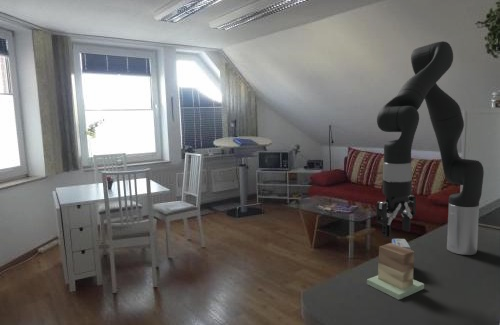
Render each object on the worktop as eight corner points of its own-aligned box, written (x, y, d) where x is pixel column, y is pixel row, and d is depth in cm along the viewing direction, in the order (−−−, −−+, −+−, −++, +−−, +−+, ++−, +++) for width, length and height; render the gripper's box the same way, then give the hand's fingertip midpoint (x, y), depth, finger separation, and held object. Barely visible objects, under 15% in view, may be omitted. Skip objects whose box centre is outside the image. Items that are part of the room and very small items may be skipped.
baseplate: (391, 274, 111) (391, 270, 110) (423, 288, 101) (424, 283, 101) (366, 284, 105) (366, 279, 105) (399, 299, 96) (399, 294, 95)
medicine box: (410, 273, 111) (411, 247, 110) (395, 273, 112) (396, 246, 111) (405, 263, 119) (405, 238, 117) (391, 262, 119) (391, 238, 118)
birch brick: (388, 274, 108) (389, 258, 107) (412, 284, 101) (413, 267, 100) (378, 278, 105) (378, 262, 104) (402, 289, 98) (402, 272, 98)
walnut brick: (390, 258, 107) (390, 243, 106) (413, 268, 100) (414, 251, 99) (378, 262, 104) (379, 246, 104) (402, 272, 97) (402, 255, 97)
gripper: (401, 173, 106) (401, 225, 108) (368, 179, 98) (368, 235, 101) (425, 176, 99) (423, 232, 101) (391, 183, 92) (391, 243, 94)
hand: (396, 233), depth 101 cm, fingers open, 8 cm apart
